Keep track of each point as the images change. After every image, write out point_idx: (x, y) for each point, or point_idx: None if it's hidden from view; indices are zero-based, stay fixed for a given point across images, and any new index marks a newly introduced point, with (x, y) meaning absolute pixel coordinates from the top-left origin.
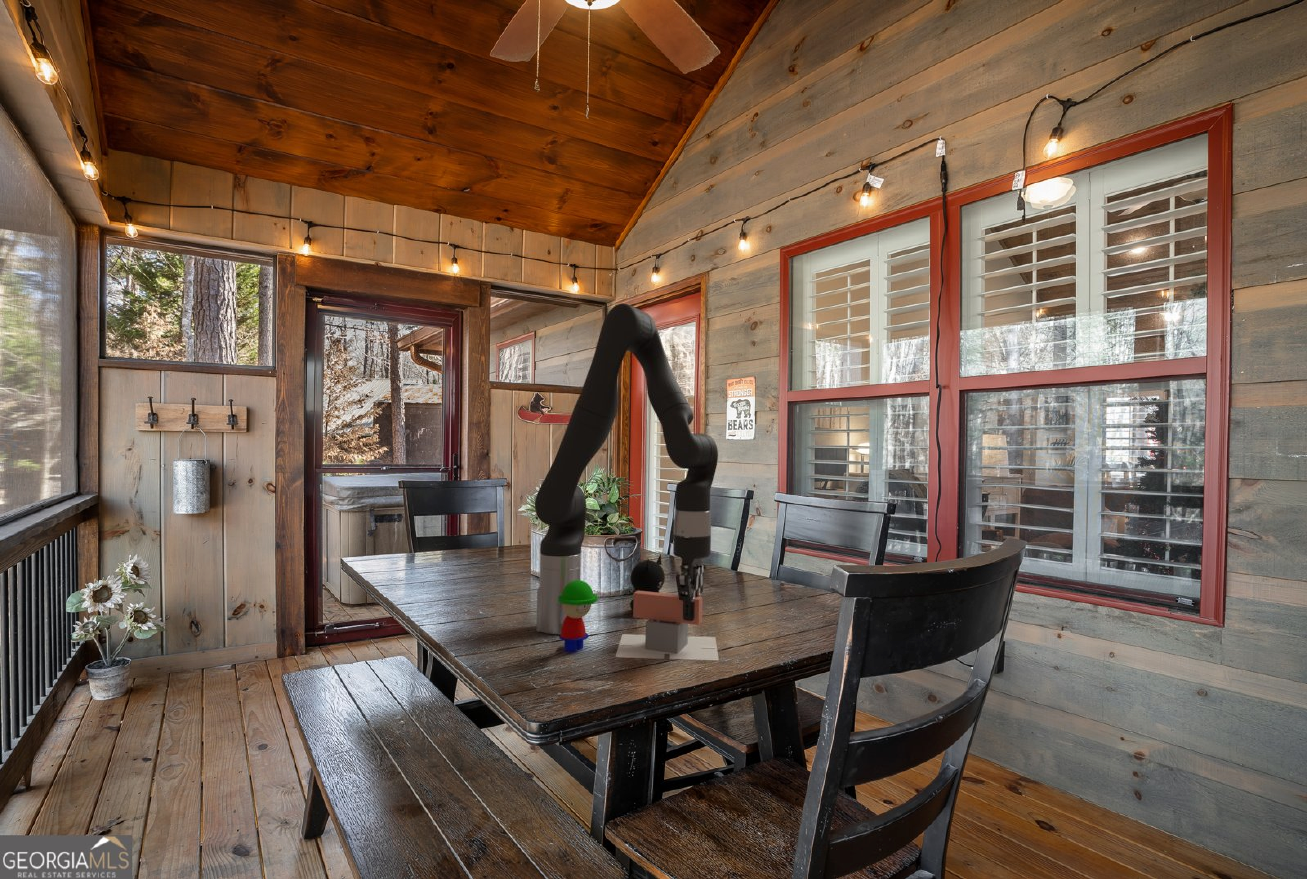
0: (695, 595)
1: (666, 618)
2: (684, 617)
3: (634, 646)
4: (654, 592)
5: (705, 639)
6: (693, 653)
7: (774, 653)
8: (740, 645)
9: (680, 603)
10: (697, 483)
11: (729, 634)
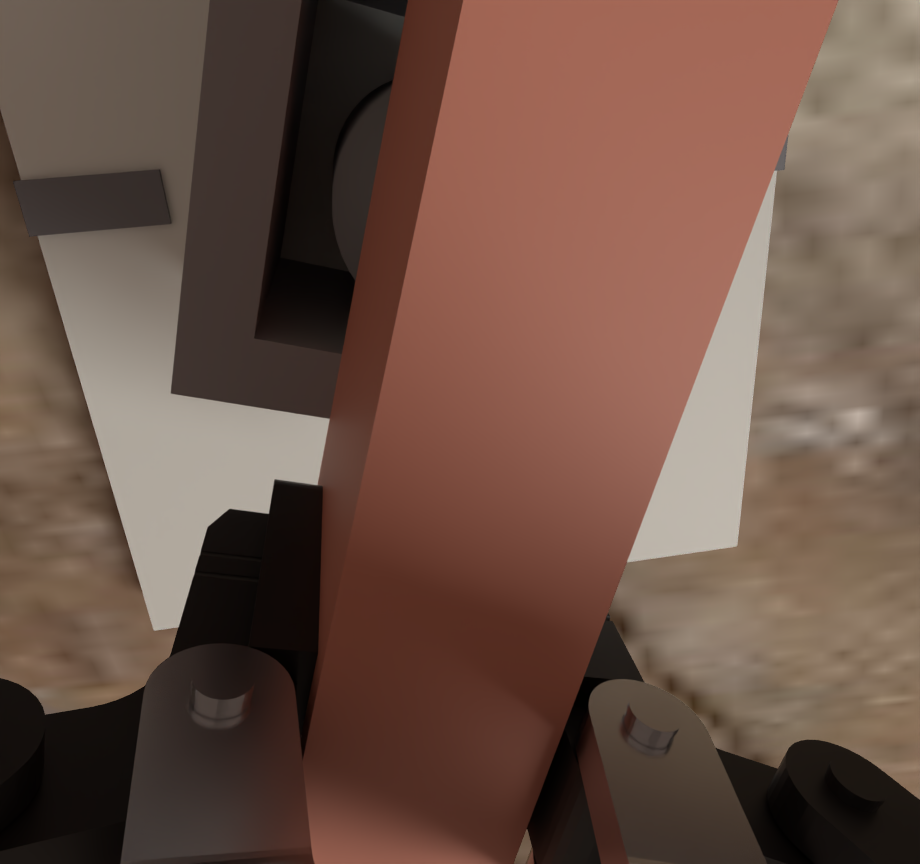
0: (542, 845)
1: (373, 202)
2: (226, 519)
3: None
4: None
5: (674, 484)
6: (270, 433)
7: (525, 846)
8: (665, 675)
9: (330, 550)
10: None
11: (909, 591)
